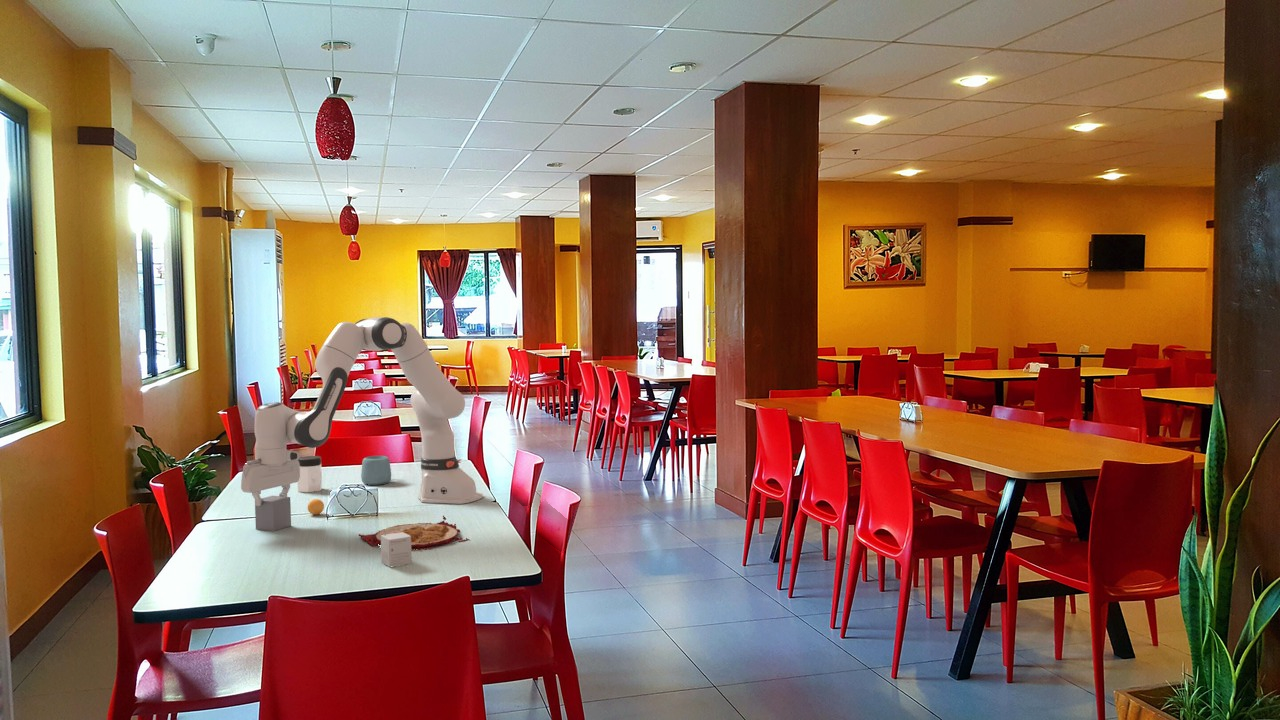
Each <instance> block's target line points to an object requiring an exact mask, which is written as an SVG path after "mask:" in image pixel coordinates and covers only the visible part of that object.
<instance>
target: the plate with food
mask: <svg viewBox="0 0 1280 720" xmlns="http://www.w3.org/2000/svg"><path fill="white" fill-rule="evenodd" d="M442 519H443V520H441V521H440V522H437V523H431V522H422V523H421V522H418V523H407V524H406V523H405V524H397V525H394V526H389V527H387V528H384V529H381V530H378V531H376V533H372V534H366V535H365V534H360V533H358V537H360V539H363V541H366V543H367V544H368V545H370V546H372V547H373V546H374V547H378V544H379V545H381V535H387V534H392V533H400V532H403V533H406V534H408V535H410V536H411V550H414V549H415V550H416V549H418V550H416V551H422V549H423V550H424V551H428V550H429V551H430V550H431V549H432V548H436V547H441V546H444V545H449V544H450V545H452V543H453V542H456V541H457V543H463V542H464V541H471V539H469V538H467V537H465V539H466V540H465V539H464V538H463V537H457V536H459V534H460V533H461V530H460V529H458V528H457V524H456V523H454V524H450V523H449V522H447V521H446V520H447V518H446V516H445V515H442ZM445 521H446V522H445ZM431 547H432V548H431ZM427 549H428V550H427ZM415 550H414V551H413V552H416V551H415Z"/></svg>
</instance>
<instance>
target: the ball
mask: <svg viewBox="0 0 1280 720" xmlns="http://www.w3.org/2000/svg"><path fill="white" fill-rule="evenodd" d="M324 509H325V504H324V502H323V501H322V500H321V499H318V498H314V499H311V500H310V501H309V502H308V503H307V511H308V513H309V514H311V515H314V516H316V515H319V514H321V513H323V511H324Z"/></svg>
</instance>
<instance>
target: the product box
mask: <svg viewBox="0 0 1280 720" xmlns="http://www.w3.org/2000/svg"><path fill="white" fill-rule="evenodd" d="M411 550H412V549H411V536H410V535H408V534H406V533H403V532H400V533H392V534H387V535H381V548H380V551H381V552H380V563H382V564H383V563H384V564H383V565H385V566H386V565H387V566H386V567H388V566H389V567H388V568H390V567H391V566H396V567H400V566H399V565H402V566H405V564H408V565H411V564H412V563H413V562H412V559H413V557H412V555H413V553H412V551H411ZM391 568H392V567H391Z"/></svg>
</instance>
